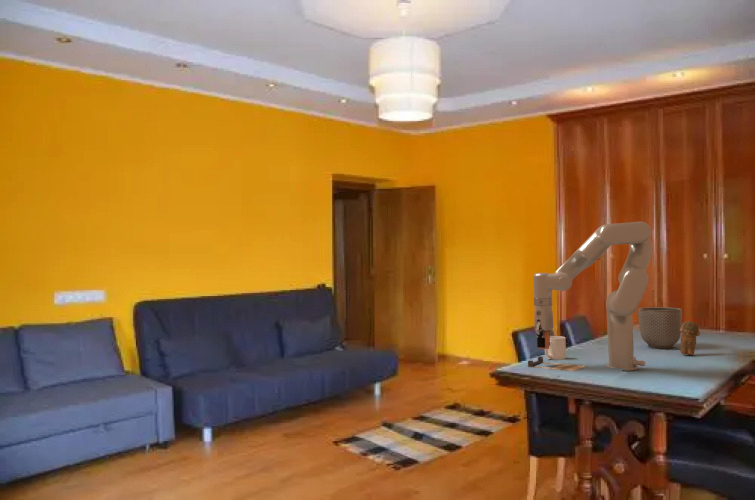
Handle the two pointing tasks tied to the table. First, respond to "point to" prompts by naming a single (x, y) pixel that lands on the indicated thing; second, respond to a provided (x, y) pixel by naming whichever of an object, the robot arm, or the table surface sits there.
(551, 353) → the mug
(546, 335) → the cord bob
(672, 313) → the planter
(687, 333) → the figurine
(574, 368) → the shelf board
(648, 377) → the table surface
